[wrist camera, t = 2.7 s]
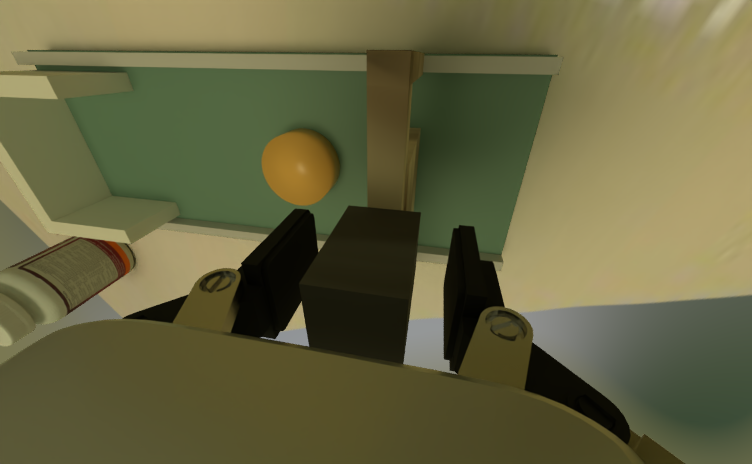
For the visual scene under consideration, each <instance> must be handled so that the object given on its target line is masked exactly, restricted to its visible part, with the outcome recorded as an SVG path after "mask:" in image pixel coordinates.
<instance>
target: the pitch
mask: <svg viewBox="0 0 752 464" xmlns="http://www.w3.org/2000/svg"><path fill="white" fill-rule="evenodd" d="M27 51H28V52H16V51H11V53H12V54H13V56H14V58H15V60H16V62H17V64H18V65H35V66H36V68H37V70H32V71H1V72H0V161H1V163H2V164H3V166H4V167H5V169H6V170H7V172H8V173H9V175H10V176H11V178H12V179H13V181H14V182H15V184H16V185H17V187H18V188H19V190H20V191H21V193H22V194H23V196H24V197H25V199H26V200H27V202H28V203H29V205H30V206H31V208H32V209H33V211H34V212H35V214H36V215H37V217H38V218H39V220H40V221H41V223H42V224H43V226H44V227H45V229H46V230H47V232H48V233H54V234H61V235H69V236H76V237H83V238H91V239H98V240H106V241H113V242H121V243H128V244H132V243H134V242H135V241H137V240H139V239H140V238H142V237H144V236H145V235H147V234H149V233H150V232H152V231H154V230H155V229H162V230H171V231H179V232H187V233H195V234H203V235H211V236H219V237H227V238H236V239H244V240H252V241H260V242H263V241H264V240H265V239H266V238H267V236H268V235H269V234H270V233H271V232H272V231H273V230H274V229H275V228H276V227H277V226H278V225H279V224H280V223H281V222H282V221H283V220H284V219H285V218H286V217H287V216H288V215H289V214H290V213H291V212H292V211H293V210H294V209H295V208H296V209H307V210H309V211H310V213H313V214H314V218H315V227H316V236H317V245H318V249H321V248H322V247H323V245H324V243H325V242H326V240H327V239H328V237H329V236H330V234H331V232H332V231H333V229H334V228H335V226H336V225H337V223H338V221H339V220H340V218H341V217H342V215H343V214H344V212H345V210H346V209H347V207H348V206H349V205H350V206H361V207H367V53H296V52H185V51H74V50H27ZM557 56H558V55H518V54H424V66H423V75H422V76H421V77H419V78H418V79H417V80H416V81H415V82H414V83H412V99H411V114H410V128H421V131H420V143H419V155H418V167H417V178H416V190H415V202H414V212H421V219H420V229H419V239H418V249H417V259H416V261H422V262H431V263H439V264H447V262H448V256H449V250H450V244H451V238H452V232H453V228H459V225H465V226H474V228H475V233H476V239H477V244H478V249H479V255H480V260H485V261H492V262H493V263H494V266H495V270H496V271H501V269H502V266H503V259H502V256H501V254H502V250H503V247H504V243H505V240H506V236H507V233H508V229H509V226H510V222H511V219H512V215H513V211H514V208H515V204H516V201H517V197H518V194H519V190H520V187H521V183H522V180H523V176H524V173H525V169H526V165H527V162H528V158H529V155H530V151H531V148H532V144H533V141H534V137H535V134H536V130H537V127H538V123H539V120H540V116H541V112H542V109H543V105H544V102H545V98H546V95H547V91H548V88H549V84H550V81H551V77H552V75H559V71H560V68H561V64H562V61H563V58H564V57H557ZM299 128H306V129H310V130H314V131H316V132H318V133H320V134H321V135H323V136H324V137H325V138H326V139H327V140H328V141H329V142H330V143H331V144H332V146H333V147H334V149H335V151H336V153H337V155H338V158H339V163H340V173H339V177H338V180H337V182H336V184H335V185H334V186H333V187H332V188H331V190H330V191H329V192H328V193H327V194H326V195H325V196H324V197H323V198H322V199H321V200H320V201H318V202H316V203H314V204H311V205H305V206H301V205H295V204H292V203H289V202H287V201H285V200H283V199H282V198H281V197H279V196H278V195H277V194H276V193H275V192H274V191H273V190H272V189H271V188H270V186H269V185H268V183H267V181H266V179H265V177H264V174H263V170H262V155H263V151H264V149H265V147H266V145H267V144H268V143H269V142H270V141H271V140H272V139H274V138H275V137H278V136H280V135H282V134H284V133H287V132H289V131H291V130H294V129H299Z"/></svg>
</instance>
